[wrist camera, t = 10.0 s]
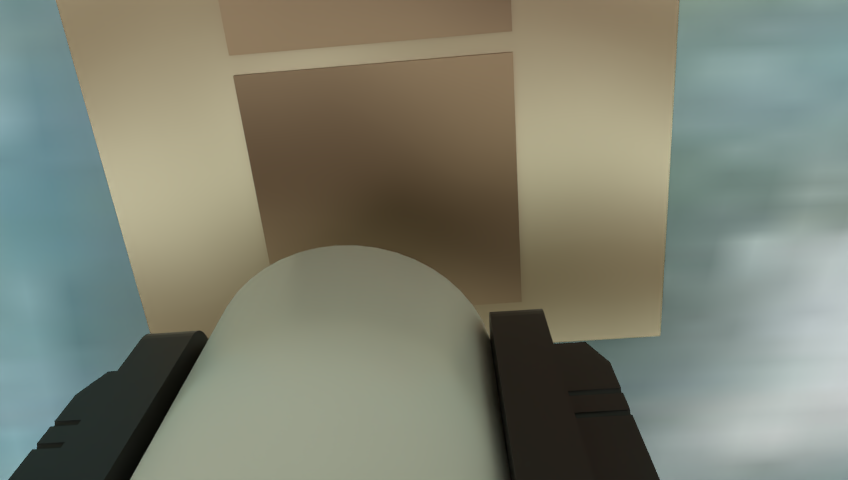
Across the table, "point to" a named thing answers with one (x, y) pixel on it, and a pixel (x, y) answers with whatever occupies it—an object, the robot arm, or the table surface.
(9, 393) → the table surface
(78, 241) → the table surface
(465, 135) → the board
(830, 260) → the table surface
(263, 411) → the pawn
